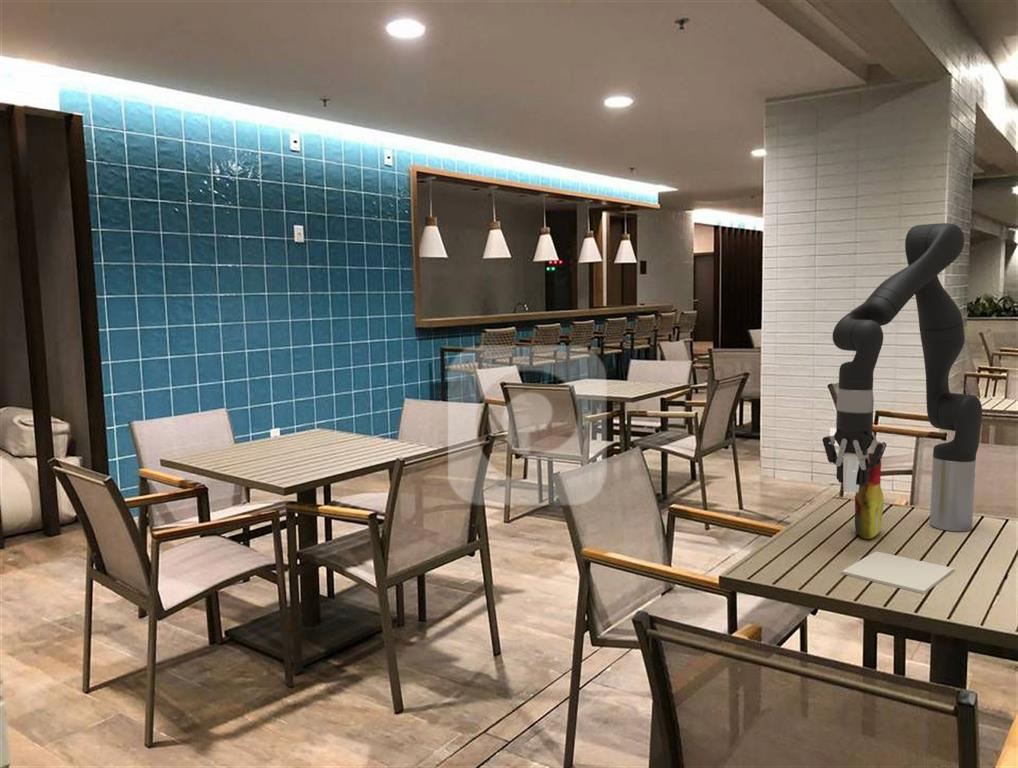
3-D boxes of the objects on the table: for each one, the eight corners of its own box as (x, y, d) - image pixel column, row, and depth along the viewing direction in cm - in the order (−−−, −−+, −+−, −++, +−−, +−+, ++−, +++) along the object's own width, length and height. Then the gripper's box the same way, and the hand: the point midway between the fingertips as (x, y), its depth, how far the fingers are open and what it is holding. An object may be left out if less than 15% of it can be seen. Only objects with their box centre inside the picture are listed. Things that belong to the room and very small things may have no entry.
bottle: (879, 543, 186) (882, 459, 183) (849, 539, 189) (852, 456, 187) (884, 530, 196) (887, 450, 194) (856, 526, 199) (859, 447, 197)
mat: (875, 553, 178) (875, 551, 178) (954, 570, 167) (954, 568, 167) (841, 573, 166) (841, 571, 166) (923, 593, 154) (924, 590, 154)
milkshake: (868, 494, 178) (870, 450, 177) (842, 493, 179) (844, 449, 178) (863, 489, 183) (865, 446, 181) (838, 488, 184) (840, 445, 182)
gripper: (894, 410, 176) (891, 486, 178) (830, 404, 187) (828, 476, 188) (881, 413, 171) (877, 492, 173) (816, 407, 181) (814, 481, 183)
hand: (852, 483), depth 181 cm, fingers closed on milkshake, 4 cm apart
